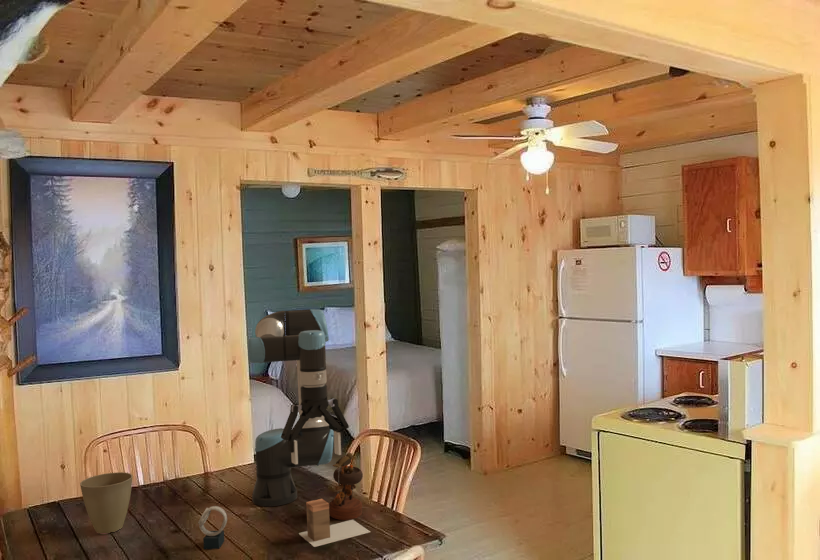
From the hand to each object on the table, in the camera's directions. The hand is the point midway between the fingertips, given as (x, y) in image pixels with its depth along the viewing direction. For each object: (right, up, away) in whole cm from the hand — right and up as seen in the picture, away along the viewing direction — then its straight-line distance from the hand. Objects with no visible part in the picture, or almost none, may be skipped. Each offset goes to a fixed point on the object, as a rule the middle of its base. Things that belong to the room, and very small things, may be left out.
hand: (316, 458), depth 195 cm
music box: (+7, -24, +22) cm, 33 cm away
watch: (-30, -26, +2) cm, 40 cm away
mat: (+4, -24, +7) cm, 25 cm away
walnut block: (0, -24, +4) cm, 24 cm away
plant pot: (-67, -27, +17) cm, 74 cm away
